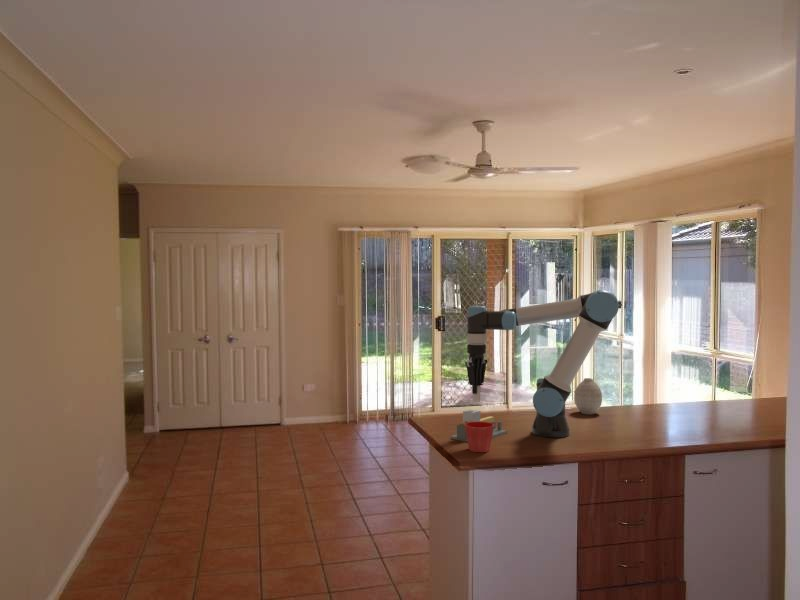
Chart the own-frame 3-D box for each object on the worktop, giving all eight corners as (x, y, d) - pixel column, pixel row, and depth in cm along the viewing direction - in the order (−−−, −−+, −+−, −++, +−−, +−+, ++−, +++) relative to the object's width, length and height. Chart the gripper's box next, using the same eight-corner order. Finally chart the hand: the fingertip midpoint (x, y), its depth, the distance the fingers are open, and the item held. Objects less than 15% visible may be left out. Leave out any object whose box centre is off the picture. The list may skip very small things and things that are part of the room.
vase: (605, 416, 298) (605, 380, 298) (578, 415, 299) (578, 380, 298) (597, 410, 311) (597, 376, 311) (571, 410, 311) (571, 376, 311)
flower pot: (462, 446, 243) (462, 421, 243) (490, 445, 244) (490, 420, 244) (467, 453, 233) (467, 427, 232) (496, 453, 234) (497, 427, 233)
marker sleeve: (480, 431, 257) (480, 410, 257) (473, 433, 254) (473, 412, 253) (469, 429, 261) (470, 409, 260) (462, 431, 257) (463, 411, 257)
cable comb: (506, 433, 264) (507, 416, 264) (475, 443, 247) (475, 426, 247) (482, 428, 272) (482, 412, 272) (450, 438, 255) (450, 421, 255)
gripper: (477, 342, 266) (477, 398, 267) (459, 344, 256) (459, 402, 257) (493, 343, 261) (492, 400, 262) (475, 345, 251) (474, 404, 252)
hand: (476, 401), depth 259 cm, fingers closed
